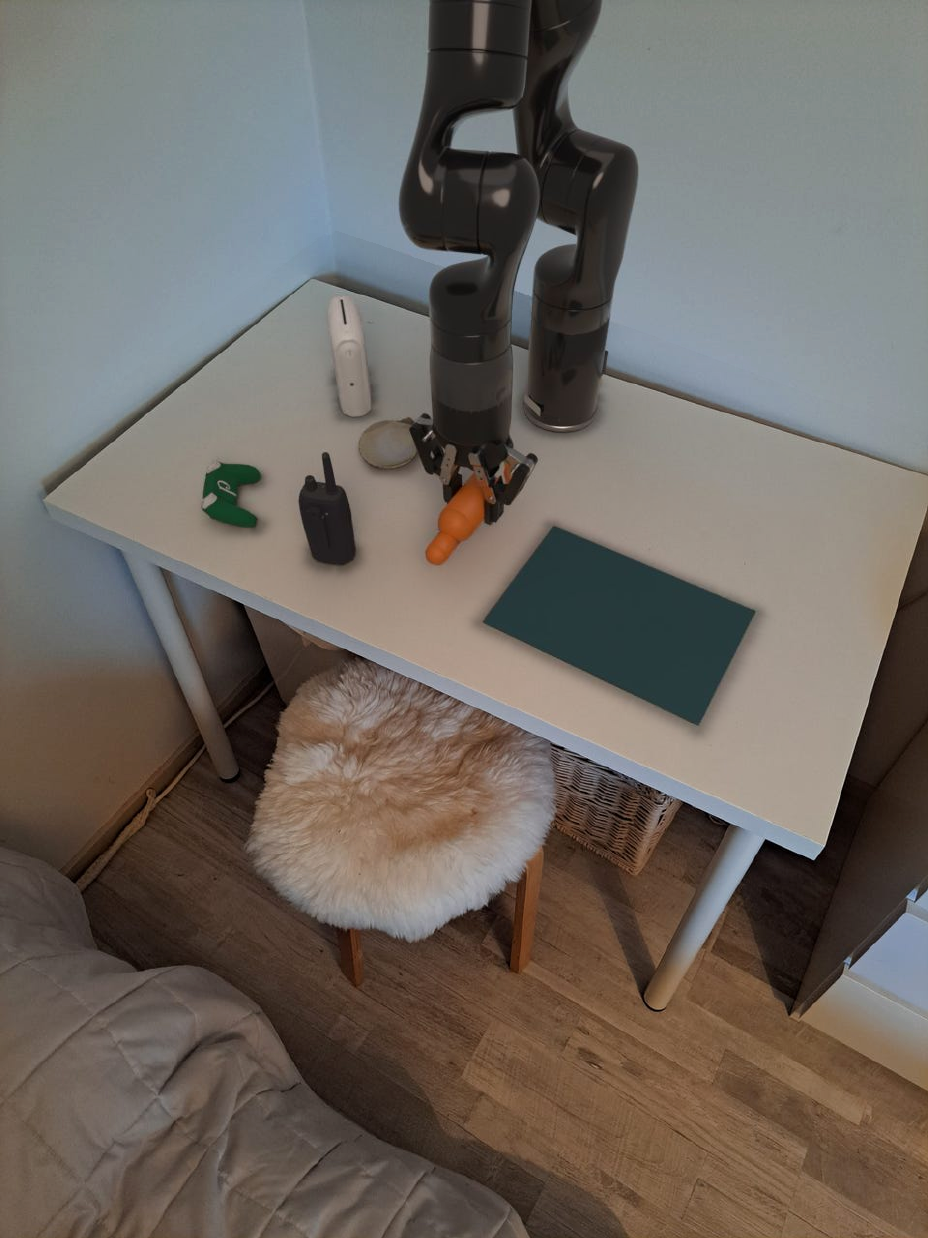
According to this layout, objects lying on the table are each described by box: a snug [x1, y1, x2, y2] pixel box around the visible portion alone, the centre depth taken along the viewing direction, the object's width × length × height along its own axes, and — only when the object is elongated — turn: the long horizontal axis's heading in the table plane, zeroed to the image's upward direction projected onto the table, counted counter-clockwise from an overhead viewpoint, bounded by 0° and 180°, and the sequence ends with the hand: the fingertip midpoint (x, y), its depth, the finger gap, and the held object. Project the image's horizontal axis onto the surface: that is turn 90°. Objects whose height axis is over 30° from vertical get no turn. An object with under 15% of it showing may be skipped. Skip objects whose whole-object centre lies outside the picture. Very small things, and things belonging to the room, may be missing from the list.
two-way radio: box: [298, 451, 357, 566], centre depth 87 cm, size 6×4×15 cm
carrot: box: [424, 460, 512, 566], centre depth 89 cm, size 17×4×4 cm, turn 149°
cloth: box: [482, 525, 757, 726], centre depth 88 cm, size 16×24×1 cm, turn 58°
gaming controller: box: [201, 459, 262, 528], centre depth 97 cm, size 9×4×6 cm
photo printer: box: [326, 295, 372, 418], centre depth 106 cm, size 10×4×12 cm, turn 10°
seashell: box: [358, 416, 418, 470], centre depth 103 cm, size 8×3×8 cm
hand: (473, 511), depth 90 cm, fingers closed on carrot, 4 cm apart
